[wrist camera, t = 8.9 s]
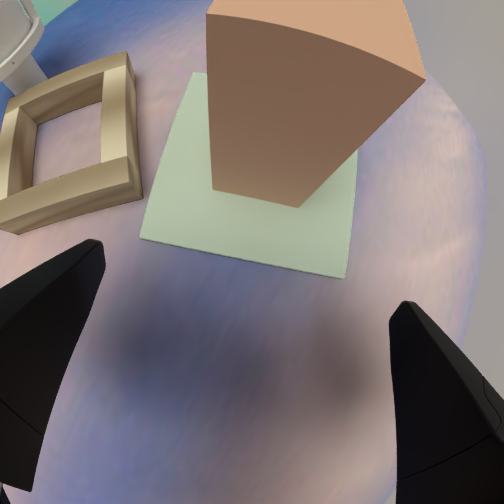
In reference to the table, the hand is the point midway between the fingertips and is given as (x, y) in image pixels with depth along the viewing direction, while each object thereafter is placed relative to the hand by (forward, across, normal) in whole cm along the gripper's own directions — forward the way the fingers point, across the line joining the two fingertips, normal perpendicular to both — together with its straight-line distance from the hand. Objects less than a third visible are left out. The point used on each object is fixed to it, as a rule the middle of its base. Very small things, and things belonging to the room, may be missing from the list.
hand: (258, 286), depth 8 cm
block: (+11, 0, 0) cm, 11 cm away
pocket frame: (+11, +13, +1) cm, 17 cm away
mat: (+11, 0, +1) cm, 11 cm away
